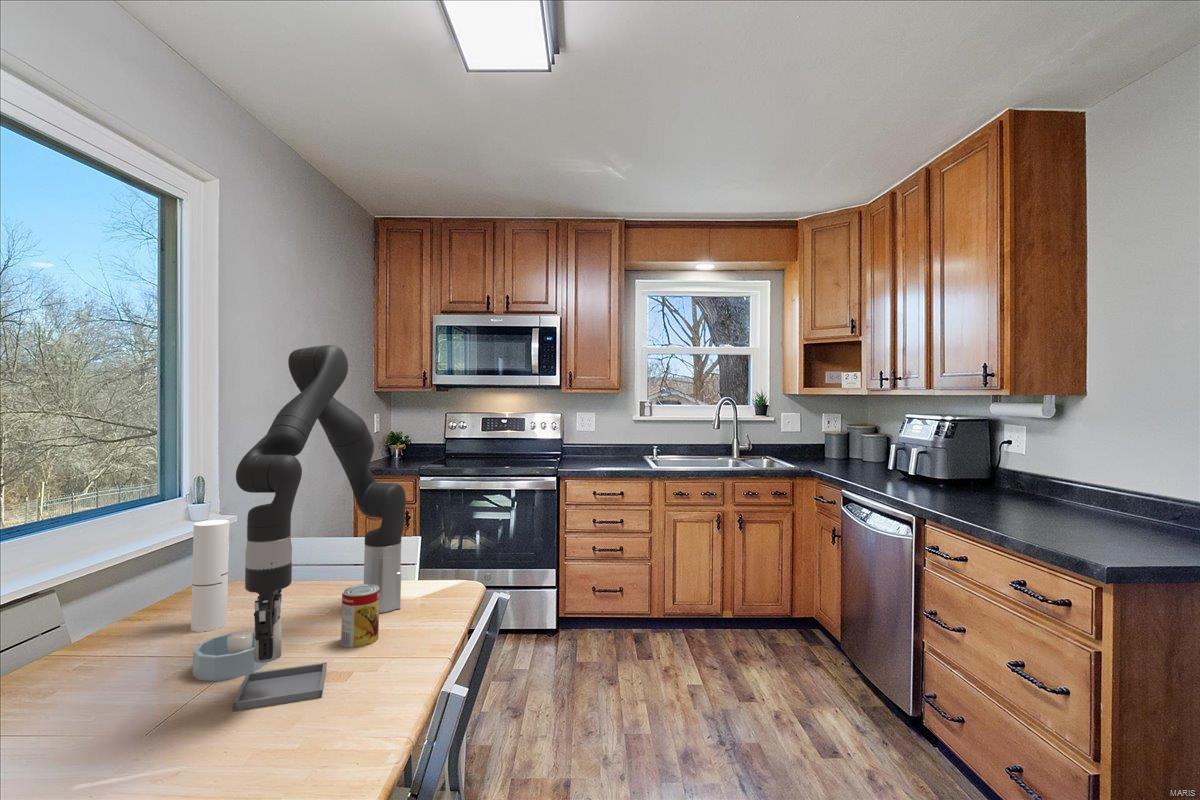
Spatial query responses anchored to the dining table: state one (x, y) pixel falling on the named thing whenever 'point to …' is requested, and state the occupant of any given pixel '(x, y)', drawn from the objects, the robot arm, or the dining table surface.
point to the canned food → (360, 615)
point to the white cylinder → (276, 644)
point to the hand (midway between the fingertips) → (268, 652)
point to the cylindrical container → (210, 575)
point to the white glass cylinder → (239, 642)
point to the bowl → (222, 660)
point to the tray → (281, 686)
